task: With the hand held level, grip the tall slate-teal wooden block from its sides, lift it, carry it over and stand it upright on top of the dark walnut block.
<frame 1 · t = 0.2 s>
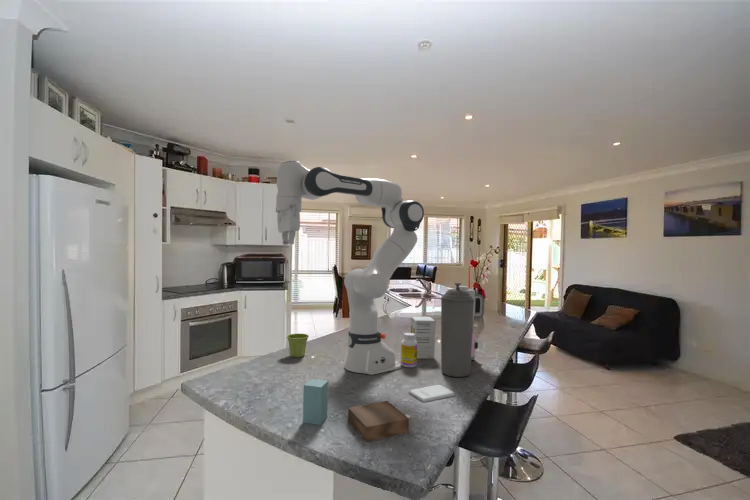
hand: (288, 244, 131), 48 cm above the kitchen island, tool pointing down, fingers open, 8 cm apart
supplement box: (422, 356, 164), on the kitchen island
canister: (455, 373, 141), on the kitchen island
plant pot: (297, 356, 158), on the kitchen island
external hard drive: (431, 396, 119), on the kitchen island
teal block: (315, 419, 99), on the kitchen island
walnut block: (377, 428, 96), on the kitchen island
supplement bottle: (408, 365, 149), on the kitchen island
blender: (464, 360, 159), on the kitchen island
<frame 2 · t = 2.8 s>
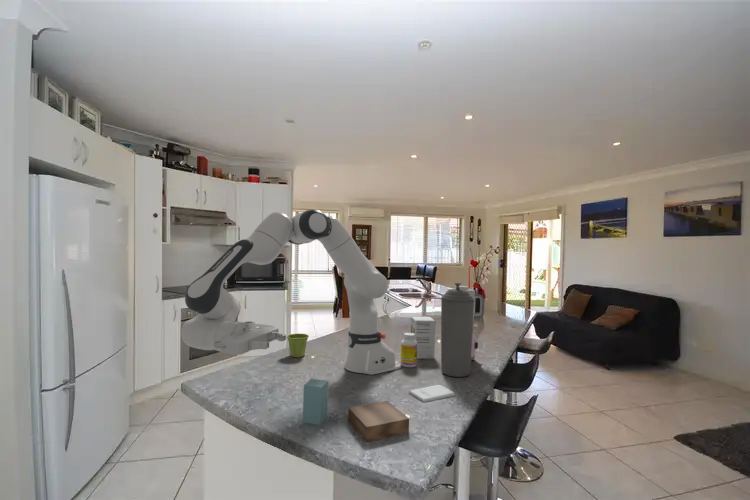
hand: (276, 341, 102), 20 cm above the kitchen island, tool horizontal, fingers open, 8 cm apart
nothing on the kitchen island moved.
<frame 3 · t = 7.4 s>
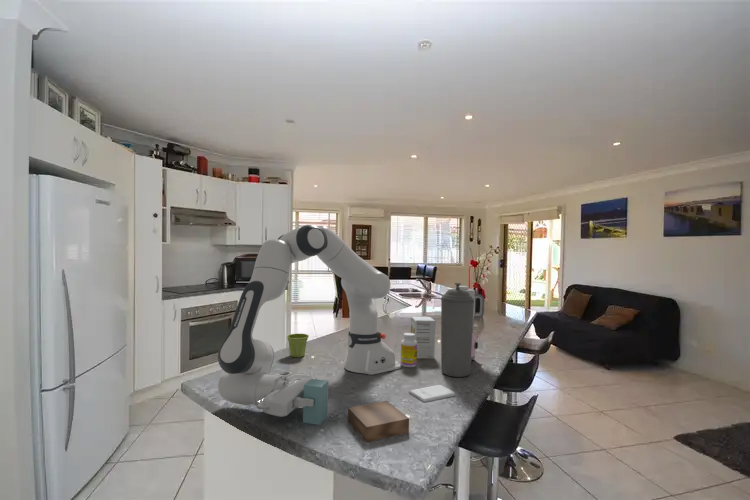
hand: (318, 397, 99), 6 cm above the kitchen island, tool horizontal, fingers closed on teal block, 5 cm apart
teal block: (315, 419, 99), on the kitchen island, touching gripper
everything else where it was.
when the fingers open (11 cm above the kitchen island, at t = 13.6 s): teal block drops 2 cm, resting on walnut block.
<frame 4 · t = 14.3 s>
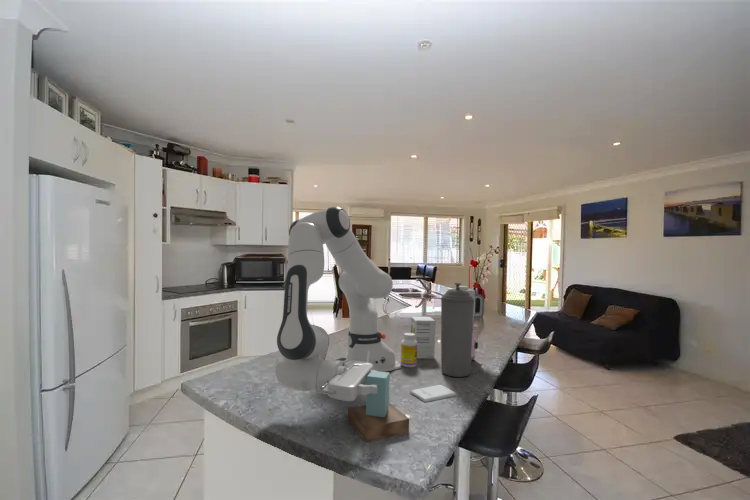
hand: (381, 383, 96), 12 cm above the kitchen island, tool horizontal, fingers open, 8 cm apart
teal block: (377, 412, 96), point 4 cm above the kitchen island, touching walnut block
walnut block: (377, 428, 96), on the kitchen island, touching teal block
everything else where it was.
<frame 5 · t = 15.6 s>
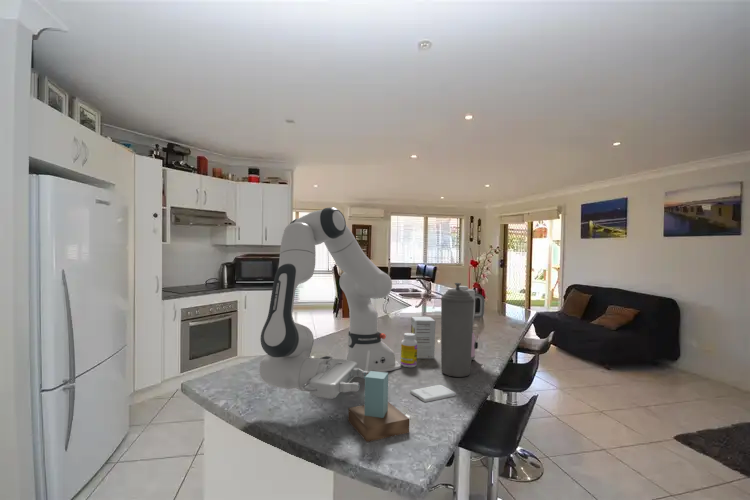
hand: (364, 380, 97), 12 cm above the kitchen island, tool horizontal, fingers open, 8 cm apart
nothing on the kitchen island moved.
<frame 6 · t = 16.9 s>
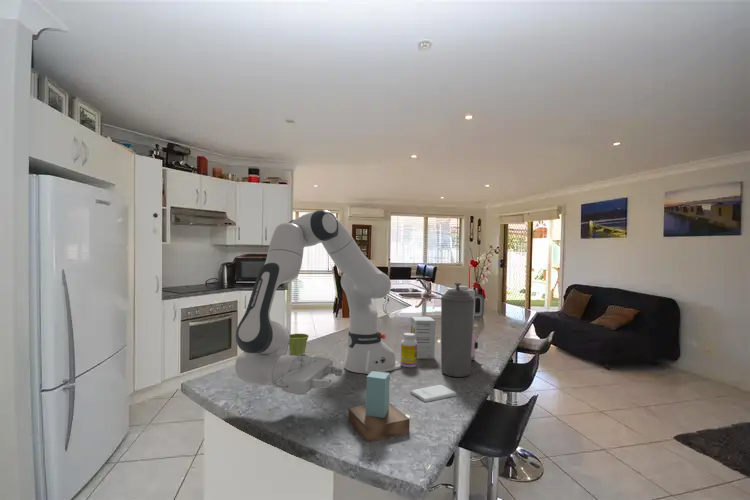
hand: (336, 377, 99), 12 cm above the kitchen island, tool horizontal, fingers open, 8 cm apart
nothing on the kitchen island moved.
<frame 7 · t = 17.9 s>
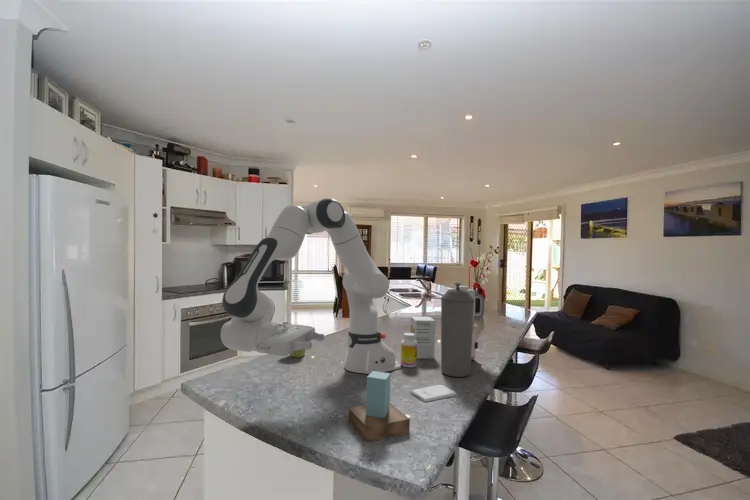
hand: (317, 341, 103), 20 cm above the kitchen island, tool horizontal, fingers open, 8 cm apart
nothing on the kitchen island moved.
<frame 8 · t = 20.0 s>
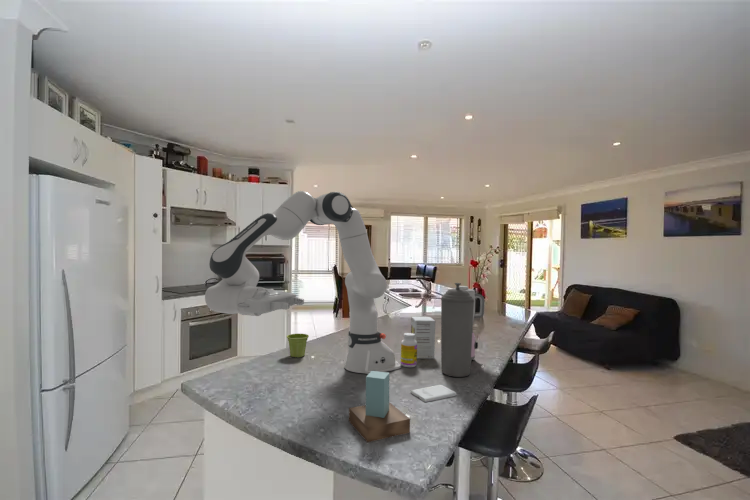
hand: (296, 303, 108), 30 cm above the kitchen island, tool horizontal, fingers open, 8 cm apart
teal block: (377, 412, 96), point 4 cm above the kitchen island
walnut block: (378, 428, 96), on the kitchen island
everything else where it was.
at the end: teal block inside the target area on the walnut block (0.4 cm from its centre), point 4.1 cm above the walnut block's base; teal block tilted 2°; the gripper is holding nothing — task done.
